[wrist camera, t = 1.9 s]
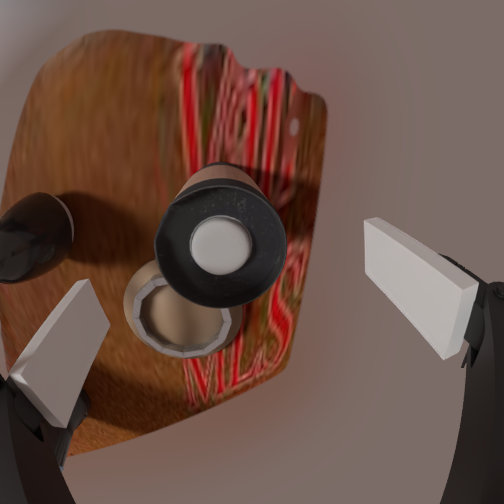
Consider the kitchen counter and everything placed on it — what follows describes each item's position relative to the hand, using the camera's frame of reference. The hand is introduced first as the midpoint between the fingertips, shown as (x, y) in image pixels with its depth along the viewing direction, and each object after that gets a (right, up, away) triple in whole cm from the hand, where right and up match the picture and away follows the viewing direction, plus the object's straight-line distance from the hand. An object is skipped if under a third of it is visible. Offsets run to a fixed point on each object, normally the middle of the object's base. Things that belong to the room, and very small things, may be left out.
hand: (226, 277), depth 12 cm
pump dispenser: (-27, +5, +20) cm, 34 cm away
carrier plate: (-9, -7, +27) cm, 29 cm away
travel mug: (-3, +9, +22) cm, 24 cm away
